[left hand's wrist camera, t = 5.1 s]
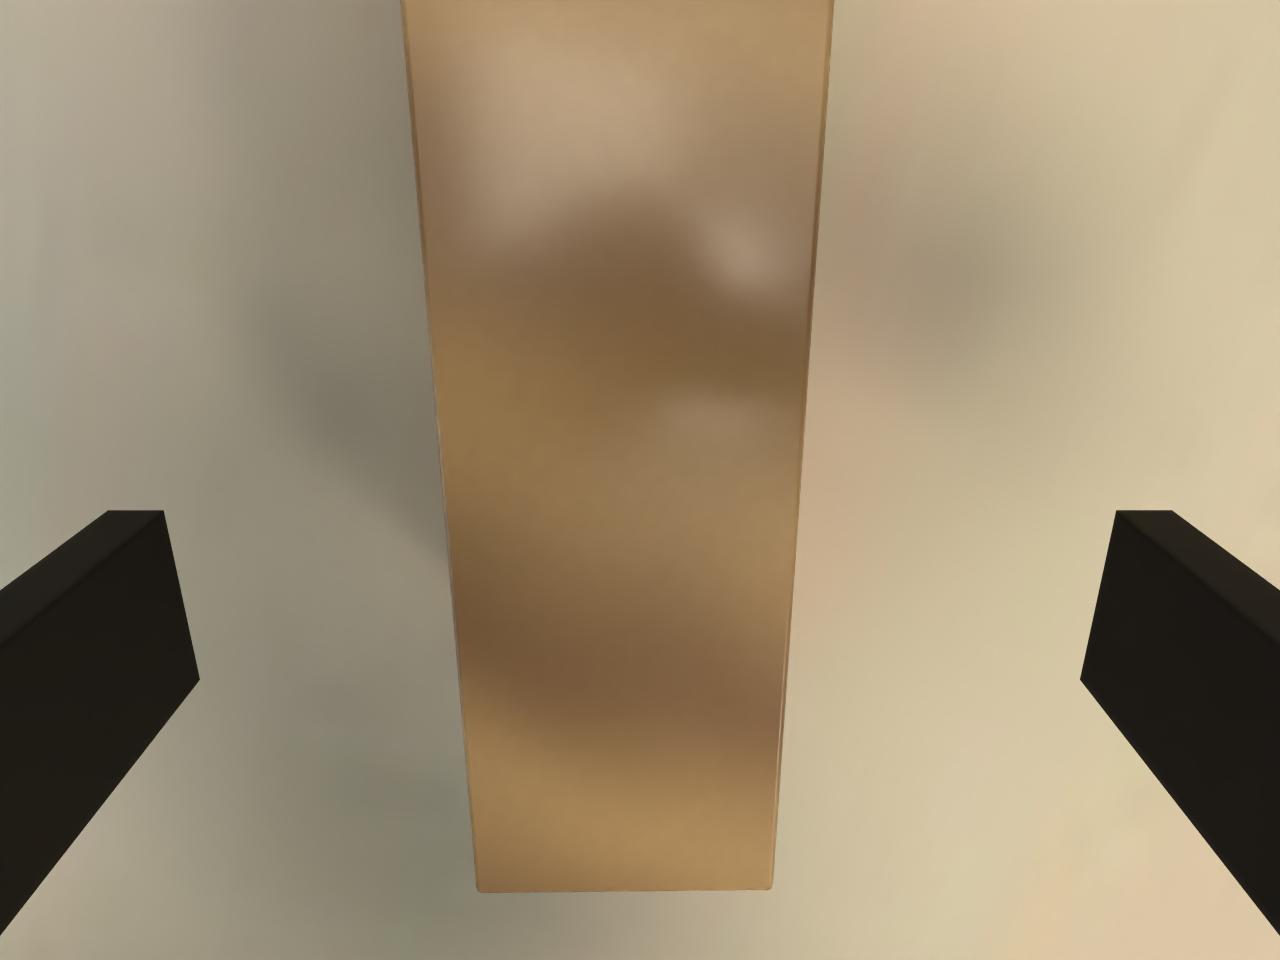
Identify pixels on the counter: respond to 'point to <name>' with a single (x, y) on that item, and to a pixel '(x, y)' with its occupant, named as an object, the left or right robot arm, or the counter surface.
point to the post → (620, 417)
